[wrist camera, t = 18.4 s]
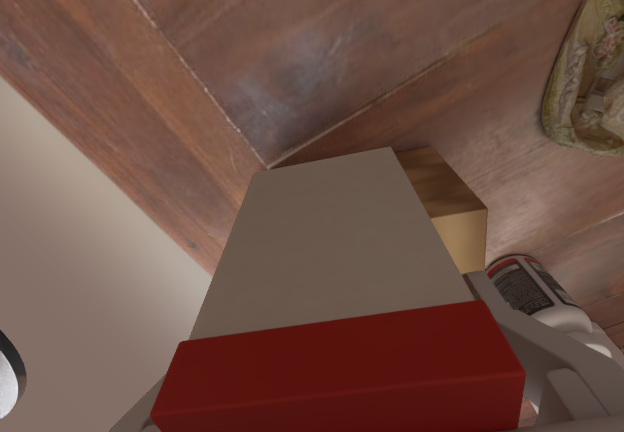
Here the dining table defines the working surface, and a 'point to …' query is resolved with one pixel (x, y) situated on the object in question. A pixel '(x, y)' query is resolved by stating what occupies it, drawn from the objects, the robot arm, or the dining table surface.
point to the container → (339, 317)
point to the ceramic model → (589, 82)
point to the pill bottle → (542, 298)
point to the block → (448, 206)
